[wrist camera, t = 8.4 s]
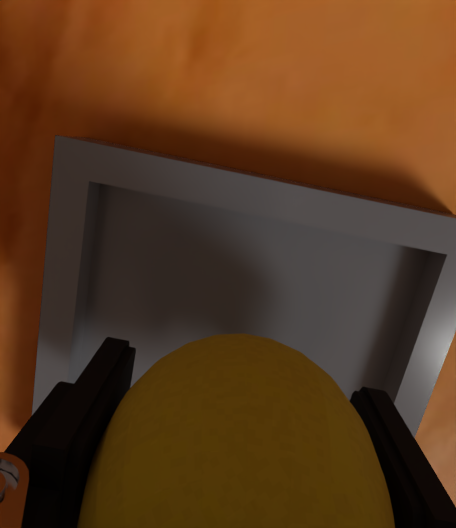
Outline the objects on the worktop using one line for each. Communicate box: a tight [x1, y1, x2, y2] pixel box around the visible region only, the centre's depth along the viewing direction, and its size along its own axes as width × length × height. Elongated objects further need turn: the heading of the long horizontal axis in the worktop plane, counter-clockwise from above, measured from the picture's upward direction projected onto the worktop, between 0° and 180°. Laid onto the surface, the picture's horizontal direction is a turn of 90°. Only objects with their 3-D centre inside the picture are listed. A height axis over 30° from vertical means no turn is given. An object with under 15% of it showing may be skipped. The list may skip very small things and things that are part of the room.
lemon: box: [77, 333, 395, 528], centre depth 8 cm, size 6×6×8 cm
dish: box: [32, 135, 456, 438], centre depth 14 cm, size 12×12×2 cm
